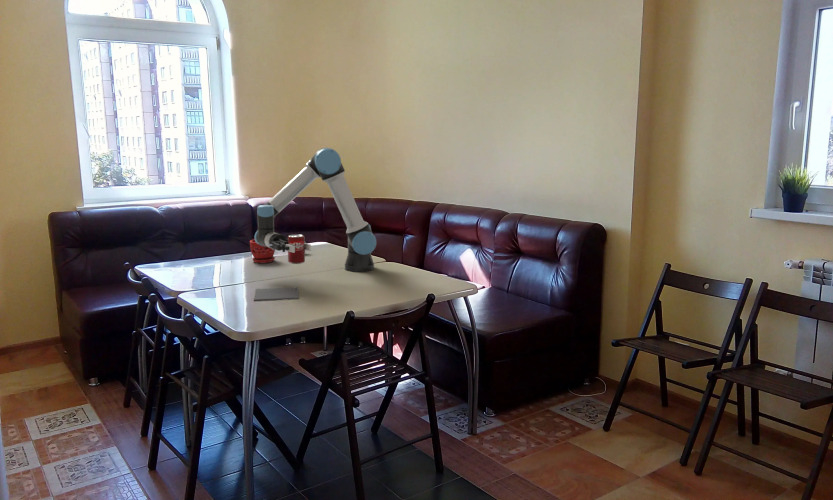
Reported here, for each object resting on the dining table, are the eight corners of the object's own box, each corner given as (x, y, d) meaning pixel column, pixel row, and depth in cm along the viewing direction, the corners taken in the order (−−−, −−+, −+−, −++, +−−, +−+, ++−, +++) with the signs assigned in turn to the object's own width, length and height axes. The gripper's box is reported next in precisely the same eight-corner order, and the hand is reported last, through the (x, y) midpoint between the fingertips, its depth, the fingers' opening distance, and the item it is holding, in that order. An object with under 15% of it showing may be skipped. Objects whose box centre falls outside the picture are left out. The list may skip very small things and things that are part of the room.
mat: (297, 288, 273) (297, 287, 273) (298, 299, 255) (298, 297, 255) (255, 290, 269) (255, 289, 269) (254, 300, 252) (253, 299, 252)
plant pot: (264, 258, 340) (263, 237, 338) (280, 261, 332) (280, 239, 330) (245, 262, 329) (244, 240, 327) (261, 265, 322) (260, 242, 320)
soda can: (289, 261, 274) (288, 234, 271) (305, 261, 274) (305, 234, 272) (287, 264, 266) (286, 236, 264) (303, 264, 267) (303, 237, 265)
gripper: (295, 247, 289) (322, 254, 272) (256, 251, 276) (281, 259, 259) (295, 231, 288) (321, 237, 271) (255, 235, 275) (281, 242, 258)
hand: (302, 248), depth 265 cm, fingers closed on soda can, 7 cm apart
